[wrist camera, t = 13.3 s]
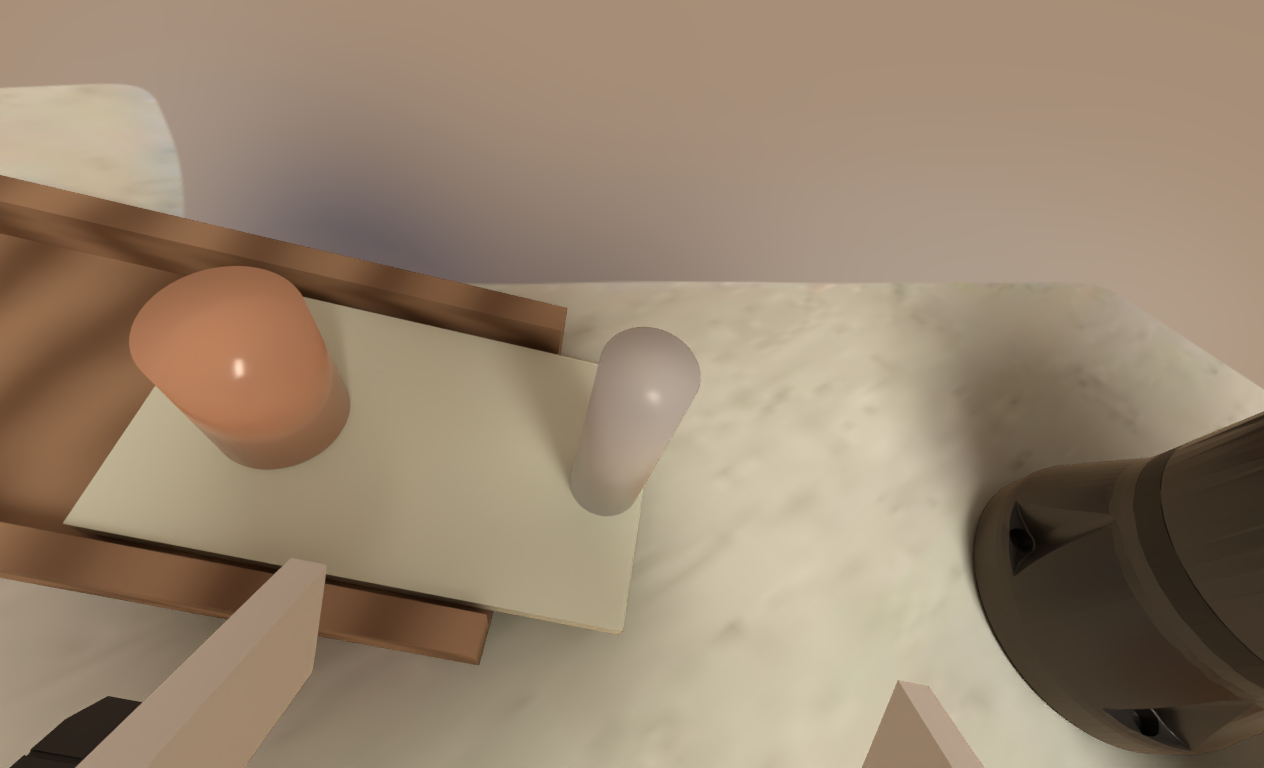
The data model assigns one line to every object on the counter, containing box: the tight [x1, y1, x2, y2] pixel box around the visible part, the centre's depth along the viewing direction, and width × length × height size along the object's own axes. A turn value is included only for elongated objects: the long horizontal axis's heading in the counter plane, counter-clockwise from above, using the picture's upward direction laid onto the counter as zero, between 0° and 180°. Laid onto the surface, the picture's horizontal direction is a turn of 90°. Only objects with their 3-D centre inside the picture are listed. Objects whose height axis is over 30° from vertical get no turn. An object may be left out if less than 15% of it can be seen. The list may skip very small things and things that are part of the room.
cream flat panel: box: [63, 297, 701, 635], centre depth 25 cm, size 24×14×12 cm, turn 81°
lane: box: [0, 175, 567, 665], centre depth 29 cm, size 32×18×4 cm, turn 81°
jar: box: [129, 266, 350, 470], centre depth 26 cm, size 6×6×7 cm
